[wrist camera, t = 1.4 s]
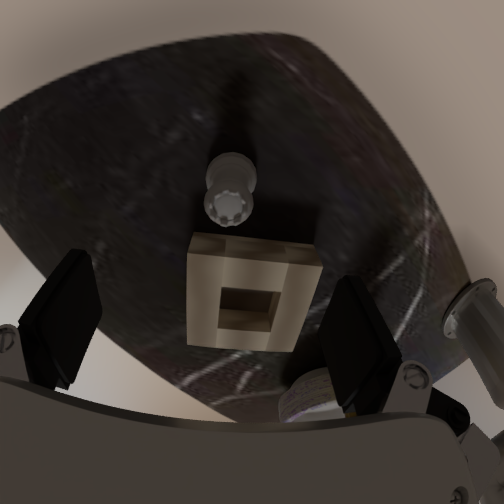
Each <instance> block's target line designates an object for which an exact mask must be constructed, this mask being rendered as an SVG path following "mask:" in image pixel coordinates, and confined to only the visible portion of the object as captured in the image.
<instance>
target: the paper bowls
mask: <svg viewBox="0 0 504 504" xmlns="http://www.w3.org/2000/svg"><path fill="white" fill-rule="evenodd" d="M279 416H280V423H287V422H305V421H318V420H329V419H339V418H345V414H343V410H342V407H340V406H338V404H337V401H336V397H335V393H334V389H333V386H332V382H331V378H330V375H329V371H328V368H327V367H323V368H319V369H315V370H312V371H310V372H307V373H306V374H304V375H302V376H301V377H299V378H298V379H297V380H296V381H295V382H294V383H293V385H292V386H291V388H290V389H289V390H288V391H286V392H285V393H284V394H283V395H282V396H281V397H280V400H279Z"/></svg>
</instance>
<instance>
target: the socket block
mask: <svg viewBox="0 0 504 504" xmlns="http://www.w3.org/2000/svg"><path fill="white" fill-rule="evenodd" d="M322 268H323V266H322V263H321V261H320V259H319V257H318V254H317V252H316V250H315V248H314V245H310V244H301V243H293V242H284V241H275V240H266V239H257V238H248V237H239V236H230V235H220V234H211V233H201V232H194V233H193V236H192V239H191V243H190V246H189V249H188V253H187V345H196V346H205V347H215V348H227V349H240V350H256V351H278V352H292V351H293V349H294V346H295V344H296V341H297V339H298V336H299V333H300V331H301V328H302V325H303V323H304V320H305V317H306V315H307V312H308V309H309V306H310V304H311V301H312V298H313V295H314V292H315V289H316V286H317V283H318V280H319V278H320V275H321V272H322Z"/></svg>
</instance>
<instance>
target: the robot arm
mask: <svg viewBox="0 0 504 504" xmlns="http://www.w3.org/2000/svg"><path fill="white" fill-rule="evenodd" d="M496 293H497V288H496V285H495V283H494V282H493V281H492V280H490V279H489V278H484V279H480V280H478V281H476V282H474V283H472V284H471V285H469V286H468V287H467V288H466V289H465V290H463V291H462V292H461V293H460V294H459V295H458V297H457V298H456V299H455V300H454V301H453V303H452V304H451V305H450V307H449V309H448V310H447V312H446V314H445V316H444V319H443V322H442V331H443V333H444V334H445V336H446V337H448V338H458V340H459V341H460V343H461V345H462V346H463V348H464V349H465V351H466V353H467V354H468V356H469V358H470V359H471V361H472V363H473V365H474V366H475V368H476V370H477V372H478V373H479V375H480V377H481V379H482V381H483V383H484V385H485V386H486V388H487V390H488V392H489V394H490V396H491V398H492V400H493V401H494V403H495V404H496V406H498V407H499V408H501V409H503V410H504V308H503V306H502V305H501V304H500V303H499V302H498V300H497V299H496ZM101 316H102V306H101V302H100V298H99V293H98V289H97V285H96V280H95V275H94V271H93V265H92V260H91V256H90V255H89V254H87V252H86V251H85V250H80V249H71V250H70V251H69V252H68V253H67V255H66V256H65V257H64V258H63V260H62V261H61V262H60V263H59V265H58V266H57V267H56V268H55V270H54V271H53V272H52V273H51V275H50V276H49V277H48V279H47V280H46V281H45V283H44V284H43V285H42V287H41V288H40V290H39V291H38V292H37V294H36V295H35V297H34V298H33V299H32V301H31V302H30V304H29V305H28V307H27V308H26V310H25V311H24V313H23V314H22V316H21V317H20V319H19V320H18V322H19V326H18V328H16V327H15V326H13V325H11V324H4V325H1V326H0V504H479V500H480V503H481V504H504V430H503V431H501V432H500V433H499V434H497V435H496V436H495V437H494V438H492V439H491V440H490V439H489V438H488V437H487V436H486V435H485V434H484V433H483V432H482V431H481V430H480V429H479V428H478V427H477V426H476V425H475V424H474V423H472V424H471V425H470V415H469V412H468V410H467V409H466V407H465V406H464V405H462V404H461V403H459V402H457V401H456V400H454V399H452V398H451V397H449V396H447V395H446V394H444V393H442V392H440V391H439V390H437V389H435V388H434V387H432V383H433V379H432V376H431V373H430V372H429V370H428V369H427V368H426V367H425V366H424V365H423V364H421V363H419V362H417V361H412V360H409V361H405V362H402V359H401V357H402V354H401V352H400V350H399V348H398V346H397V344H396V342H395V340H394V338H393V336H392V334H391V332H390V330H389V329H388V327H387V325H386V323H385V321H384V319H383V317H382V315H381V313H380V312H379V310H378V308H377V306H376V304H375V302H374V301H373V299H372V297H371V295H370V293H369V292H368V290H367V288H366V286H365V285H364V283H363V281H362V279H361V278H360V277H359V276H350V275H345V276H344V277H343V278H342V279H339V280H338V283H337V285H336V288H335V290H334V293H333V295H332V298H331V300H330V303H329V305H328V308H327V310H326V313H325V315H324V317H323V320H322V322H321V324H320V327H319V331H318V336H319V340H320V343H321V347H322V350H323V354H324V357H325V361H326V364H327V368H328V371H329V375H330V378H331V382H332V386H333V389H334V393H335V397H336V401H337V404H338V406H340V407H342V410H343V414H345V413H352V412H356V415H357V416H356V417H348V418H339V419H329V420H318V421H305V422H287V423H233V422H214V421H201V420H190V419H181V418H173V417H165V416H158V415H153V414H146V413H141V412H135V411H130V410H125V409H120V408H116V407H111V406H107V405H103V404H99V403H95V402H92V401H88V400H84V399H81V398H77V397H74V396H70V395H67V394H64V393H60V392H57V391H54V390H55V387H59V388H62V389H65V390H68V389H69V386H70V384H73V383H74V381H75V379H76V376H77V373H78V371H79V368H80V366H81V363H82V360H83V358H84V356H85V353H86V351H87V348H88V346H89V343H90V341H91V339H92V336H93V334H94V332H95V330H96V327H97V325H98V323H99V321H100V319H101Z"/></svg>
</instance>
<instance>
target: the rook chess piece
mask: <svg viewBox="0 0 504 504" xmlns="http://www.w3.org/2000/svg"><path fill="white" fill-rule="evenodd" d="M256 182H257V174H256V168H255V166H254V165H253V163H252V161H251V160H250V159H248V158H247V157H246V156H244V155H243V154H239V153H235V152H229V153H223V154H221V155H219V156H217V157H216V158H214V159H213V160H212V162H211V163H210V164H209V166H208V169H207V173H206V184H207V188H208V191H207V192H206V194H205V199H204V207H205V211H206V213H207V214H208V216H209V217H210V219H212V220H213V221H215V222H216V223H218V224H220V226H224V227H227V226H232V225H234V226H236V225H238V224H240V223H241V222H243V221H245V220H246V219H247V218H248V217H249V215H250V214H251V212H252V209H253V205H254V204H253V196H252V194H251V193H252V192H253V191H254V189H255V185H256Z"/></svg>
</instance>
